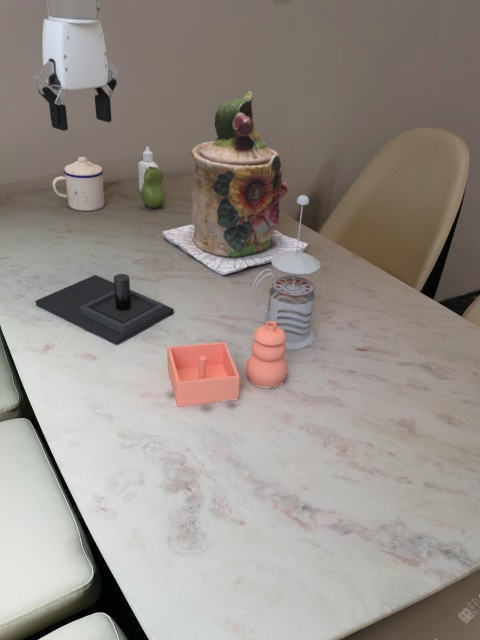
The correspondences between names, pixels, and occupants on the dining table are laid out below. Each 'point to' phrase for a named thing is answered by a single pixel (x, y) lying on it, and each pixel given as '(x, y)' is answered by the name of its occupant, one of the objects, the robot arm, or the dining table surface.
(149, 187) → the pear
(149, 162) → the eye dropper bottle
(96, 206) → the teacup with lid
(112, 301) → the stud pad
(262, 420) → the dining table surface
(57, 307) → the base pad
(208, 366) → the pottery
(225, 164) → the cookie jar
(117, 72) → the robot arm
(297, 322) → the french press
